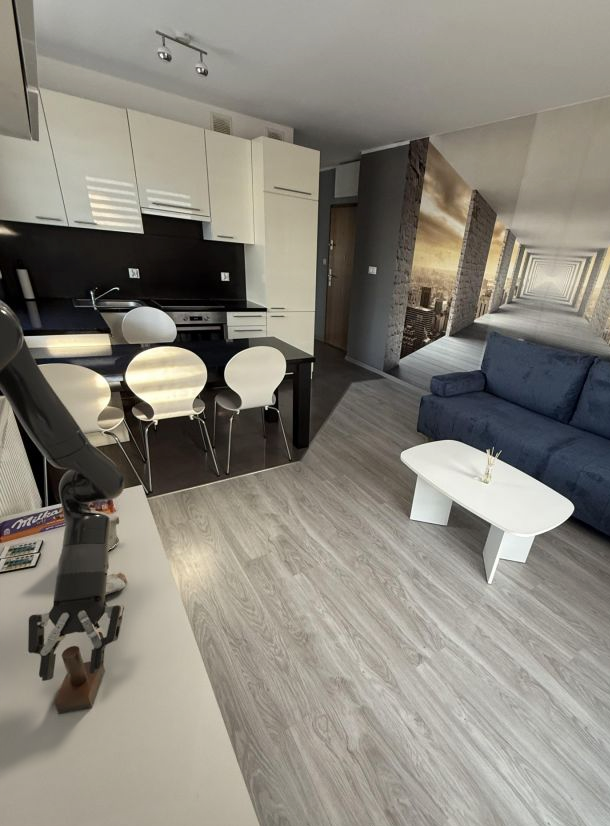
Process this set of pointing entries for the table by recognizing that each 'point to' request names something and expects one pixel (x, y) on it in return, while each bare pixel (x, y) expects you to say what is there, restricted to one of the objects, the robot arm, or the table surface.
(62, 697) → the stamp
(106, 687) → the table surface
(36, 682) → the table surface
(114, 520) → the incense holder
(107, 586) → the stone
